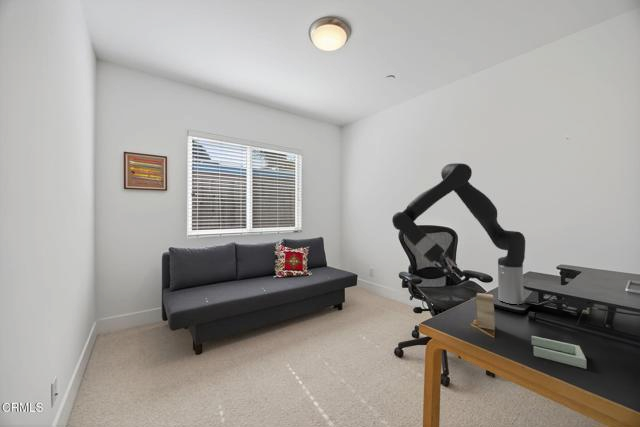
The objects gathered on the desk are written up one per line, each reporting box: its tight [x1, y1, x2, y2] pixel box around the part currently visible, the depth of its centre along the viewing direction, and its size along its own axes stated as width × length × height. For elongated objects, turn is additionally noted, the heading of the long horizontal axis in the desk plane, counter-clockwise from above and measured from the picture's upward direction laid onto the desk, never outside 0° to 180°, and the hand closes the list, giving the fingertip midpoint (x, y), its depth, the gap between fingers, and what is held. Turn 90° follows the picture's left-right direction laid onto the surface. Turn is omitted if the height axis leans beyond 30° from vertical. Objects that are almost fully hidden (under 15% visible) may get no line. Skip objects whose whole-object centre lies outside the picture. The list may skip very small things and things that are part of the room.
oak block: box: [475, 292, 496, 330], centre depth 92 cm, size 5×5×11 cm
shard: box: [470, 319, 496, 338], centre depth 92 cm, size 11×8×2 cm
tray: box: [531, 335, 587, 370], centre depth 76 cm, size 8×11×2 cm
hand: (461, 279), depth 99 cm, fingers open, 8 cm apart
